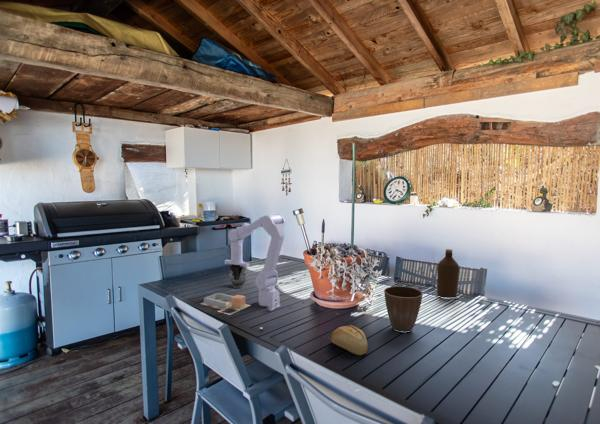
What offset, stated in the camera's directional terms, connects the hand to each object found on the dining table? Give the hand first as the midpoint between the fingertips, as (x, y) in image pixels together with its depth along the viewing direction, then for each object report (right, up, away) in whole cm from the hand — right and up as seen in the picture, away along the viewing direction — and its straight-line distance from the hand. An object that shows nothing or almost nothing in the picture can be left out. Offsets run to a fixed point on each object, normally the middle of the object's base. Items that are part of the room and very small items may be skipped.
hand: (236, 279), depth 187 cm
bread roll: (+50, -16, -53) cm, 74 cm away
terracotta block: (+4, -10, -16) cm, 19 cm away
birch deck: (-4, -11, -15) cm, 19 cm away
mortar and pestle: (-2, -8, +21) cm, 22 cm away
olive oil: (+108, -11, +7) cm, 109 cm away
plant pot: (+73, -14, -36) cm, 83 cm away
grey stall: (-6, -9, -11) cm, 15 cm away
